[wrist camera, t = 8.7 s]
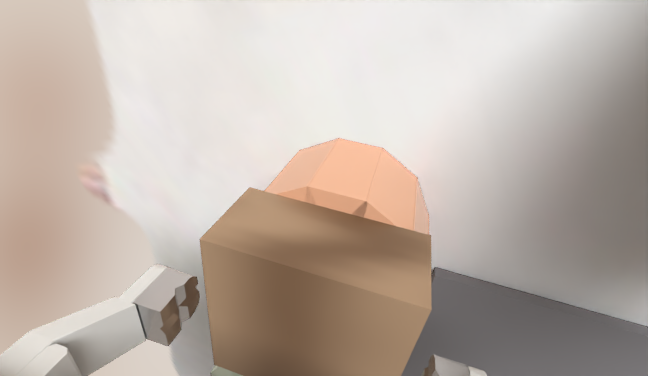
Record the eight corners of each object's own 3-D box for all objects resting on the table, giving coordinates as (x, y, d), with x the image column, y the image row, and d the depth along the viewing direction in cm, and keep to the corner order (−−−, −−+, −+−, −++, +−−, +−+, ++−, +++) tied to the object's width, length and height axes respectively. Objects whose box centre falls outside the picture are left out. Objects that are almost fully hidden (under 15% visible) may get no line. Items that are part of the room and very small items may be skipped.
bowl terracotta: (448, 162, 14) (455, 223, 10) (403, 284, 18) (396, 360, 14) (281, 125, 15) (231, 166, 11) (275, 246, 19) (237, 306, 15)
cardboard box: (430, 235, 10) (431, 309, 8) (386, 349, 14) (377, 426, 11) (249, 187, 11) (199, 239, 9) (250, 303, 15) (214, 364, 12)
